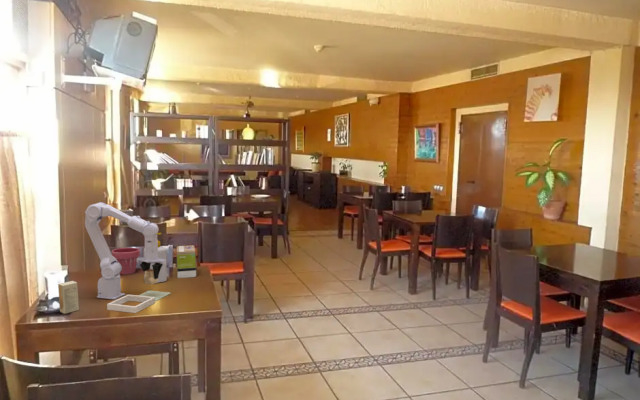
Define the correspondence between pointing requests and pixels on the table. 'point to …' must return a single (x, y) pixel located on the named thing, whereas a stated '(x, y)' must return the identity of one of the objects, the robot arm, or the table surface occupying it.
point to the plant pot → (127, 259)
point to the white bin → (132, 309)
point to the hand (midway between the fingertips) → (151, 278)
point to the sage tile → (155, 294)
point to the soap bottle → (163, 271)
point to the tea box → (186, 261)
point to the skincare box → (68, 297)
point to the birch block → (150, 277)
